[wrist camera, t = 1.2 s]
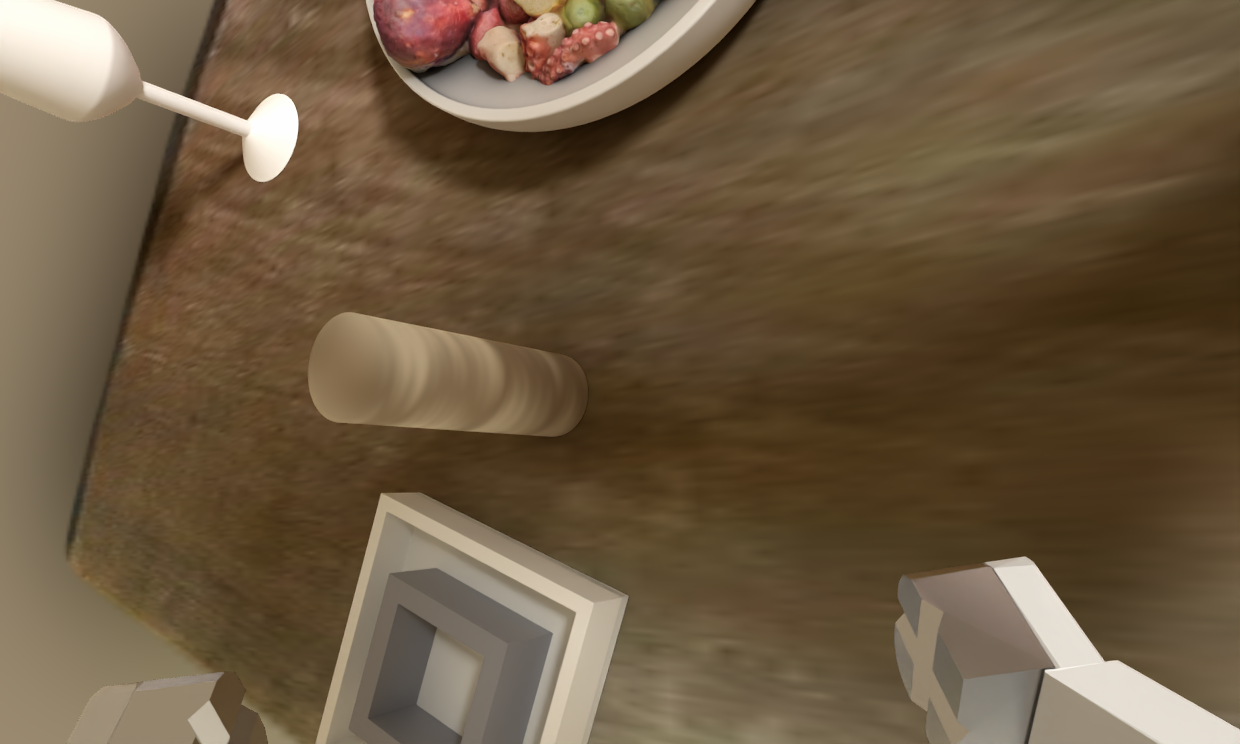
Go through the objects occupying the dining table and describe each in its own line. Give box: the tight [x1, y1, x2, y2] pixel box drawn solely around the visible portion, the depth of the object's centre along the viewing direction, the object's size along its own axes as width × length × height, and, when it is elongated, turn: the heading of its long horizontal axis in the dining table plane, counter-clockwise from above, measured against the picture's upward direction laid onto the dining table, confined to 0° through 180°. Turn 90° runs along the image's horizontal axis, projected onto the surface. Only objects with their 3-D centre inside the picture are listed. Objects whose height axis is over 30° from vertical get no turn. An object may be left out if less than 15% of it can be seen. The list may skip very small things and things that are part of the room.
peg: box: [308, 312, 588, 437], centre depth 41 cm, size 4×4×14 cm
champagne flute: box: [0, 0, 298, 182], centre depth 54 cm, size 7×7×24 cm
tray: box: [315, 492, 629, 744], centre depth 46 cm, size 16×16×4 cm
